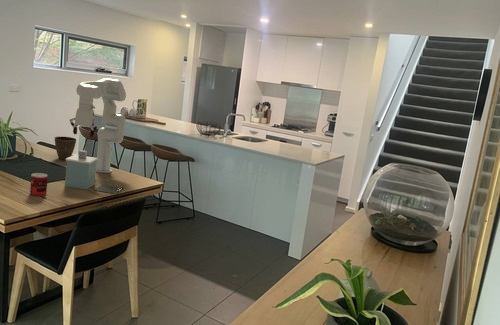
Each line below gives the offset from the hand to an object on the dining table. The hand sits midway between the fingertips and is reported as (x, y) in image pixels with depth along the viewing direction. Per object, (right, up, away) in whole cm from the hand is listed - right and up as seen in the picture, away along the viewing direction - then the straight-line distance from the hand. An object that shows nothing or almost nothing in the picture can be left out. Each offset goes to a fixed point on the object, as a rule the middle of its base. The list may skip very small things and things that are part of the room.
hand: (83, 135), depth 229 cm
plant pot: (-42, -14, +63) cm, 77 cm away
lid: (-3, -16, +4) cm, 16 cm away
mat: (+13, -33, +8) cm, 36 cm away
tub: (-5, -30, +7) cm, 31 cm away
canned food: (-16, -34, -20) cm, 42 cm away
